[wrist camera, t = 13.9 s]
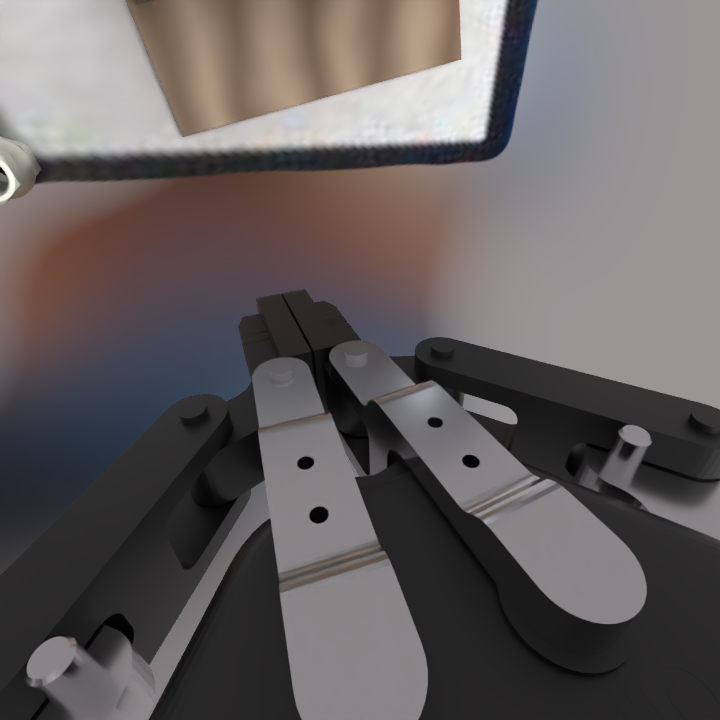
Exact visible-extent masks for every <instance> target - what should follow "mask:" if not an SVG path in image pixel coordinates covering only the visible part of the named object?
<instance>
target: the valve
mask: <svg viewBox="0 0 720 720" xmlns="http://www.w3.org/2000/svg"><path fill="white" fill-rule="evenodd" d="M0 167H1V168H2V169H3V170H4V172H5V174H6V175H7V176H5V175H3V174H2V173H1V172H0V204H3V205H4V204H6V203H7V202H8V201H10V200H11V199H16V198H19V197H22V196H24V195H26V194H27V193H28V192H29V191H30V190H31V189H32V188H33V186H34V184H35V180H36V176H37V175H38V173H39V172H40V171H41V170H42V169H41V167H40V166H39V164H38V162H37V161H36V159H35V157H34V155H33V154H32V152H31V150H30V149H29V147H28V145H27V144H25V143H22V142H18V141H14V140H11V139H7V138H4V137H0Z"/></svg>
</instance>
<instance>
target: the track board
mask: <svg viewBox="0 0 720 720" xmlns="http://www.w3.org/2000/svg"><path fill="white" fill-rule="evenodd" d="M126 2H127V4H128V7H129V9H130V12H131V14H132V17H133V19H134V21H135V24H136V26H137V29H138V31H139V33H140V36H141V38H142V41H143V43H144V45H145V48H146V50H147V53H148V55H149V57H150V60H151V62H152V65H153V67H154V69H155V72H156V74H157V77H158V79H159V81H160V84H161V86H162V89H163V91H164V93H165V96H166V98H167V101H168V103H169V105H170V108H171V110H172V113H173V115H174V117H175V120H176V122H177V125H178V127H179V129H180V132H181V134H182V137H184V136H188V135H191V134H195V133H199V132H202V131H206V130H209V129H213V128H216V127H220V126H224V125H227V124H231V123H234V122H238V121H242V120H245V119H249V118H252V117H256V116H260V115H263V114H267V113H270V112H274V111H278V110H281V109H285V108H288V107H292V106H295V105H299V104H303V103H306V102H310V101H313V100H317V99H321V98H324V97H328V96H331V95H335V94H339V93H342V92H346V91H349V90H353V89H357V88H360V87H364V86H367V85H371V84H374V83H378V82H382V81H385V80H389V79H392V78H396V77H400V76H403V75H407V74H410V73H414V72H418V71H421V70H425V69H428V68H432V67H436V66H439V65H443V64H446V63H450V62H453V61H457V60H461V40H460V12H459V0H155V1H151V2H146V3H141V4H137V5H135V3H134V0H126Z"/></svg>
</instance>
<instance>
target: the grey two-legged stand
mask: <svg viewBox="0 0 720 720" xmlns="http://www.w3.org/2000/svg"><path fill="white" fill-rule="evenodd" d="M151 1H155V0H134V3H135V5H137V4H141V3H146V2H151Z"/></svg>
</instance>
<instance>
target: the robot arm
mask: <svg viewBox="0 0 720 720" xmlns="http://www.w3.org/2000/svg"><path fill="white" fill-rule="evenodd" d="M256 302H257V308H258V312H259V314H256V315H252V316H246V317H243V318H242V320H241V322H240V324H239V327H238V328H239V332H240V336H241V341H242V345H243V349H244V354H245V358H246V362H247V366H248V370H249V374H250V377H251V383H250V385H249V386H248V388H247V389H246V390H245V391H244V392H242V393H241V394H240V395H238V396H236V397H235V398H233V399H231V400H229V401H227V402H225V401H224V400H223V399H222V398H220V397H218V396H215V395H210V394H202V395H194V396H190V397H187V398H185V399H182V400H180V401H178V402H176V403H175V404H173V405H172V406H171V407H170V408H168V409H167V410H166V411H165V412H164V413H163V414H162V415H161V416H160V417H159V418H158V419H157V420H156V421H155V422H154V423H153V424H152V425H151V426H150V427H149V428H148V429H147V430H146V431H145V432H144V433H143V434H142V435H141V436H140V437H139V438H138V439H137V440H136V441H135V442H134V443H133V444H132V445H131V446H130V447H129V448H128V449H127V450H126V451H125V452H124V453H123V454H122V455H121V456H120V457H119V458H118V459H117V460H116V461H115V462H114V463H113V464H112V465H111V466H110V467H109V468H108V469H107V470H106V471H105V472H104V473H103V474H102V475H101V476H100V477H99V478H98V479H97V480H96V481H95V482H94V483H93V484H92V485H91V486H90V487H89V488H88V489H87V490H86V491H85V492H84V493H83V494H82V495H81V496H80V497H79V498H78V499H77V500H76V501H75V502H74V503H73V504H72V505H71V506H70V507H69V508H68V509H67V510H66V511H65V512H64V513H63V514H62V515H61V516H60V517H59V518H58V519H57V520H56V521H55V522H54V523H53V524H52V525H51V526H50V527H49V528H48V529H47V530H46V531H45V532H44V533H43V534H42V535H41V536H40V537H39V538H38V539H37V540H36V541H35V542H34V543H33V544H32V545H31V546H30V547H29V548H28V549H27V550H26V551H25V552H24V553H23V554H22V555H21V556H20V557H19V558H18V559H17V560H16V561H15V562H14V563H13V564H12V565H11V566H10V567H9V568H8V569H7V570H6V571H5V572H4V573H3V574H2V575H1V576H0V720H147V718H148V715H149V713H150V711H151V708H152V704H153V701H154V695H155V678H154V674H153V671H152V669H151V667H150V666H149V664H150V663H151V661H152V659H153V658H154V656H155V654H156V653H157V651H158V650H159V648H160V646H161V645H162V643H163V641H164V640H165V638H166V636H167V635H168V633H169V631H170V629H171V628H172V626H173V625H174V623H175V621H176V620H177V618H178V616H179V615H180V613H181V612H182V610H183V608H184V607H185V605H186V603H187V602H188V600H189V598H190V597H191V595H192V593H193V592H194V590H195V588H196V587H197V585H198V583H199V582H200V580H201V579H202V577H203V575H204V573H205V572H206V570H207V569H208V567H209V565H210V564H211V562H212V560H213V559H214V557H215V555H216V553H217V552H218V550H219V549H220V547H221V546H222V543H223V542H224V541H225V539H226V537H227V536H228V534H229V532H230V530H231V529H232V527H233V526H234V524H235V522H236V521H237V519H238V517H239V516H240V514H241V512H242V511H243V509H244V508H245V506H246V504H247V502H248V500H249V498H250V495H251V488H253V487H254V486H256V485H257V484H259V483H261V482H262V481H264V480H265V484H266V491H267V498H268V505H269V512H270V519H268V520H267V521H266V522H264V523H263V524H262V525H261V526H260V527H259V528H257V529H256V530H255V531H254V532H253V533H252V534H251V536H250V537H249V538H248V539H247V540H246V541H245V543H244V544H243V545H242V547H241V548H240V549H239V551H238V552H237V554H236V555H235V557H234V558H233V560H232V562H231V564H230V566H229V567H228V569H227V571H226V573H225V575H224V577H223V579H222V581H221V583H220V585H219V587H218V588H217V590H216V592H215V594H214V596H213V598H212V600H211V602H210V604H209V606H208V608H207V609H206V611H205V613H204V615H203V617H202V619H201V621H200V623H199V625H198V627H197V629H196V630H195V632H194V634H193V636H192V638H191V640H190V642H189V644H188V646H187V648H186V650H185V652H184V653H183V655H182V657H181V659H180V661H179V663H178V665H177V667H176V669H175V671H174V672H173V674H172V676H171V678H170V680H169V682H168V684H167V686H166V688H165V690H164V692H163V694H162V695H161V697H160V699H159V701H158V703H157V705H156V707H155V709H154V711H153V713H152V715H151V716H150V718H149V720H720V410H719V409H717V408H714V407H712V406H709V405H706V404H702V403H698V402H694V401H690V400H686V399H682V398H679V397H675V396H671V395H667V394H663V393H659V392H656V391H652V390H648V389H644V388H640V387H636V386H632V385H628V384H625V383H620V382H617V381H613V380H609V379H605V378H601V377H598V376H594V375H589V374H585V373H582V372H578V371H574V370H571V369H567V368H562V367H559V366H555V365H551V364H547V363H543V362H539V361H535V360H531V359H528V358H524V357H520V356H516V355H512V354H509V353H505V352H500V351H497V350H493V349H489V348H485V347H481V346H477V345H474V344H470V343H466V342H462V341H458V340H454V339H450V338H443V337H436V338H429V339H426V340H423V341H421V342H420V343H419V344H418V345H417V346H416V348H415V356H400V357H392V356H388V355H387V354H386V353H385V352H384V351H383V350H382V349H381V348H380V347H378V346H377V345H375V344H373V343H370V342H367V341H361V339H360V338H359V337H358V335H357V334H356V333H355V331H354V330H353V329H352V328H351V326H350V325H349V324H348V323H347V321H346V320H345V318H344V317H343V316H342V314H341V313H340V312H339V310H338V309H337V308H336V306H334V305H332V304H330V303H328V302H325V301H321V302H316V303H314V302H313V300H312V299H311V297H310V296H309V294H308V293H307V291H306V290H305V289H303V290H297V291H292V292H287V293H282V294H276V295H271V296H266V297H260V298H257V299H256ZM465 393H466V394H469V395H472V396H475V397H479V398H482V399H485V400H488V401H491V402H494V403H498V404H501V405H504V406H507V407H509V408H510V409H512V410H513V411H514V412H515V414H516V415H517V418H518V422H517V424H514V425H511V424H507V423H503V422H500V421H498V420H495V419H491V418H488V417H485V416H482V415H479V414H476V413H473V412H470V411H467V410H464V408H462V407H463V400H464V394H465ZM334 422H335V423H334ZM347 457H348V458H347ZM348 459H349V460H350V462H351V463H352V465H353V467H354V468H355V470H356V472H357V473H358V475H359V477H354V474H353V472H352V469H351V466H350V464H349V461H348Z"/></svg>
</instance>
